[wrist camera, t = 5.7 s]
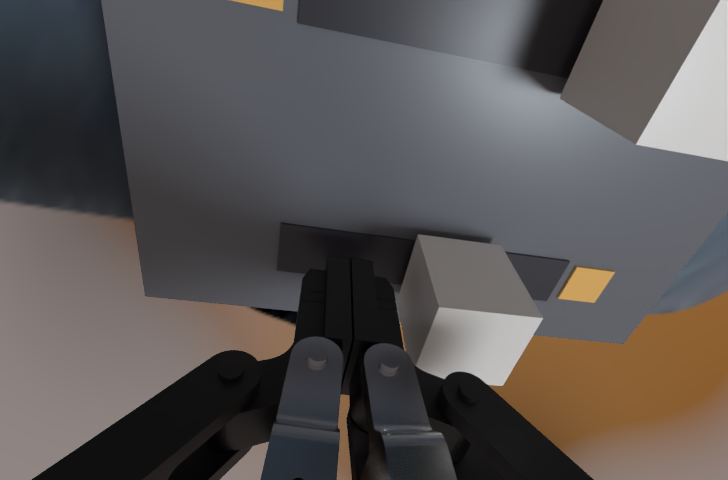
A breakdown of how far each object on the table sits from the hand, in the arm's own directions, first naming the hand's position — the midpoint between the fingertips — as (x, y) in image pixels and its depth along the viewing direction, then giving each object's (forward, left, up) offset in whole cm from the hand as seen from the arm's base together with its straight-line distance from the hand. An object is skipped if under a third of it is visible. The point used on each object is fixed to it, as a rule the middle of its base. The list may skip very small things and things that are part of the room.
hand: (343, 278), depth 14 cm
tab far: (+4, 0, -1) cm, 4 cm away
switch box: (+3, +4, -5) cm, 7 cm away
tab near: (+6, +8, -1) cm, 10 cm away
